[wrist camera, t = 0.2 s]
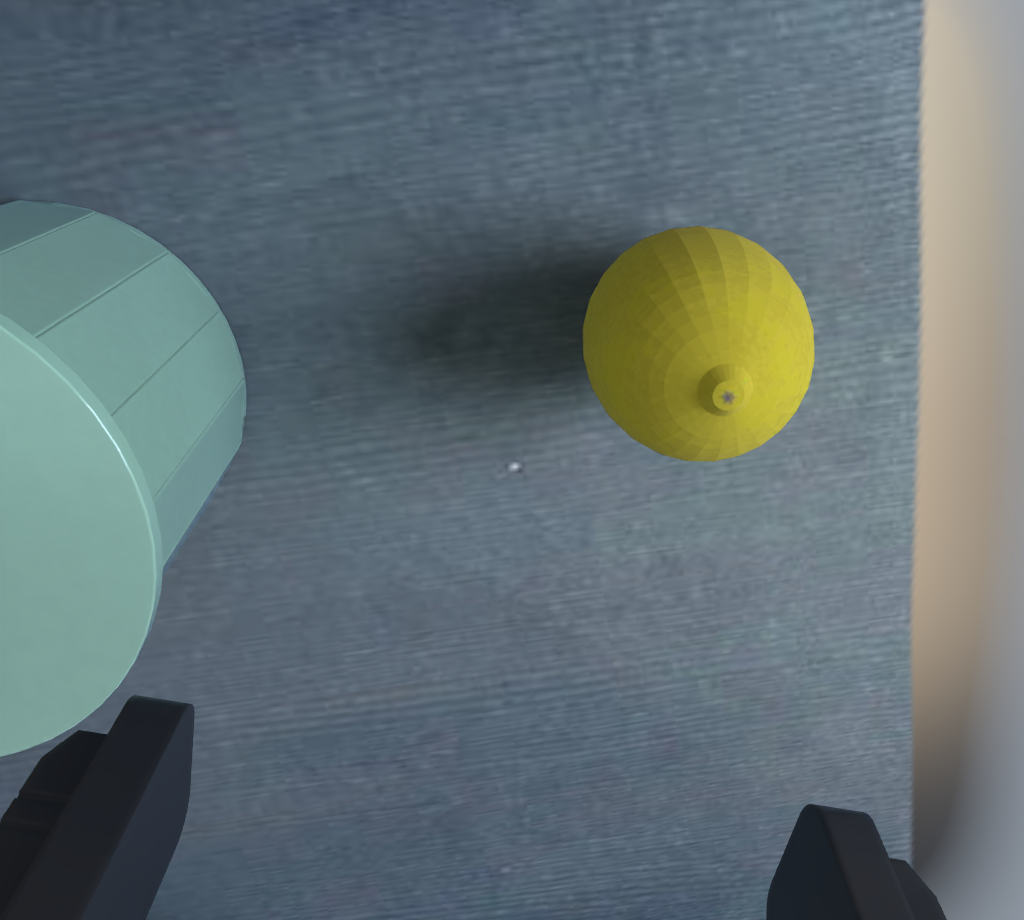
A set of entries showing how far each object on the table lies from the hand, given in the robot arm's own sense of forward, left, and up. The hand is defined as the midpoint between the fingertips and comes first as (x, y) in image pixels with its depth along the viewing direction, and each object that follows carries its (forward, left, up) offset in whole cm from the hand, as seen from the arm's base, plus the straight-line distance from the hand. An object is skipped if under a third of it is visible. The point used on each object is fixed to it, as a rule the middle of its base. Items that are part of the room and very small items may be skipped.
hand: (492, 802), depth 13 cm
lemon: (-3, +5, -18) cm, 18 cm away
